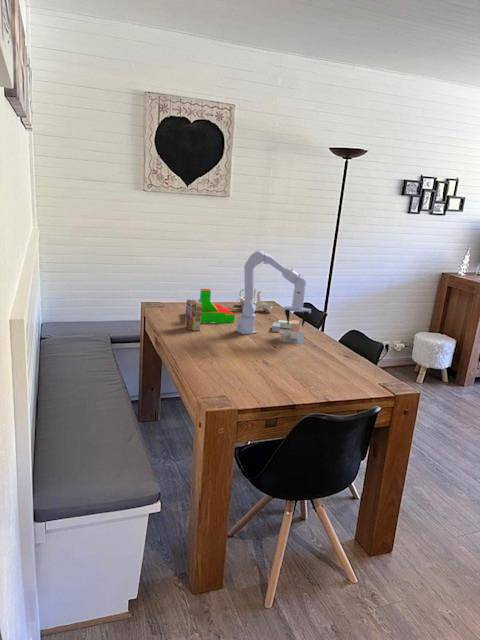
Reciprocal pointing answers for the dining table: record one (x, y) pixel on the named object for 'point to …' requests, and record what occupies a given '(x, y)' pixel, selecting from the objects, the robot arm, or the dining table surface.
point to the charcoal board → (287, 339)
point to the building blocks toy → (213, 309)
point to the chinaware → (265, 306)
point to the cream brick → (294, 335)
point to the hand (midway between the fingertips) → (295, 324)
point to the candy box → (193, 314)
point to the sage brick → (284, 324)
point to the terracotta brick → (295, 326)
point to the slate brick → (275, 327)
